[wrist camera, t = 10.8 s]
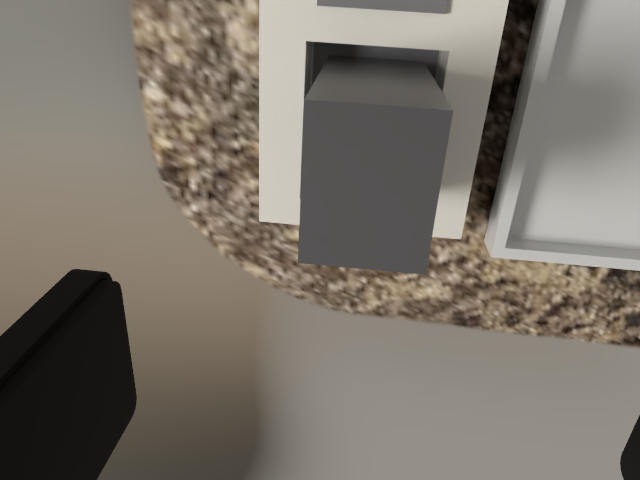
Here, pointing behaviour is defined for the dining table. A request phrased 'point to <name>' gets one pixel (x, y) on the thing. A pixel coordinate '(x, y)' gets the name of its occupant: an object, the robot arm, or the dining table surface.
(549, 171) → the tray
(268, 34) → the power strip
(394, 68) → the plug
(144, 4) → the dining table surface
